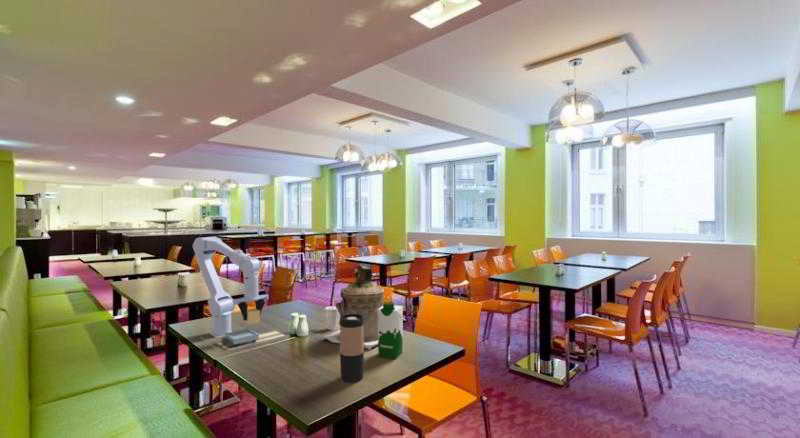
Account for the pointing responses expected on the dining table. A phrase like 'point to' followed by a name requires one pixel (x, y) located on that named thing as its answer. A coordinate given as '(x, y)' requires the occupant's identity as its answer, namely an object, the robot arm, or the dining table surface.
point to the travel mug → (351, 347)
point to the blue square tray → (242, 336)
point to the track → (262, 338)
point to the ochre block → (252, 316)
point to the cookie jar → (361, 305)
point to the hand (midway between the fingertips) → (251, 318)
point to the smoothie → (332, 316)
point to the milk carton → (390, 330)
